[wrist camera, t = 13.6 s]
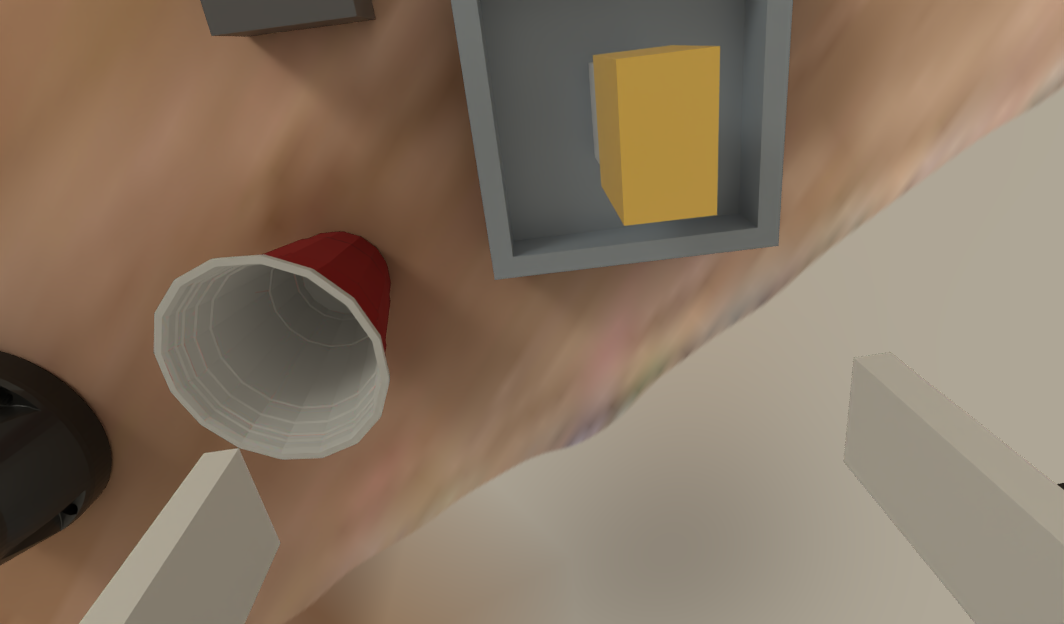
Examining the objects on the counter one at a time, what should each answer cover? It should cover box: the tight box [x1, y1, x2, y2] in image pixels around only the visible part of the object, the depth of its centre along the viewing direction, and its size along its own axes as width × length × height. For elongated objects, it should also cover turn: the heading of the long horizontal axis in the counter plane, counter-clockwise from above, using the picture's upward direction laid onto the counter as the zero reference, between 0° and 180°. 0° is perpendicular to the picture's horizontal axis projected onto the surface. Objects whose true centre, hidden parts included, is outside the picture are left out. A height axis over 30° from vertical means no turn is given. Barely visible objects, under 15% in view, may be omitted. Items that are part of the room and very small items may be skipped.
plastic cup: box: [154, 232, 391, 459], centre depth 32 cm, size 11×11×12 cm
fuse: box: [588, 45, 720, 226], centre depth 27 cm, size 4×6×12 cm, turn 7°
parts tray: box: [451, 0, 793, 280], centre depth 32 cm, size 16×16×4 cm
